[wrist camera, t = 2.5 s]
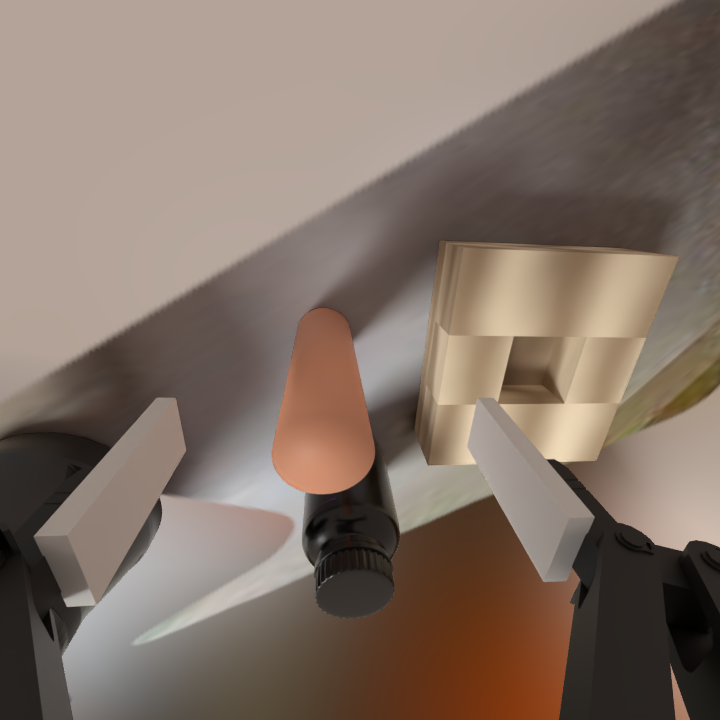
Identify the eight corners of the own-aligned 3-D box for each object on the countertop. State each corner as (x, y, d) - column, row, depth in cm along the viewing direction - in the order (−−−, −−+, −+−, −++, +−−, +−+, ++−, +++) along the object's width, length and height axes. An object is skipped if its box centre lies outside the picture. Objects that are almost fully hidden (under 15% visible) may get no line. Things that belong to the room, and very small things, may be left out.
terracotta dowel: (297, 357, 27) (274, 495, 14) (296, 307, 25) (268, 412, 12) (349, 357, 27) (371, 492, 15) (351, 308, 26) (378, 411, 13)
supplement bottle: (326, 417, 29) (327, 543, 18) (396, 442, 31) (435, 570, 20) (295, 475, 32) (280, 619, 21) (362, 496, 33) (380, 637, 22)
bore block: (414, 430, 31) (428, 465, 27) (439, 240, 24) (463, 247, 20) (561, 428, 32) (596, 460, 28) (622, 248, 26) (679, 256, 22)
